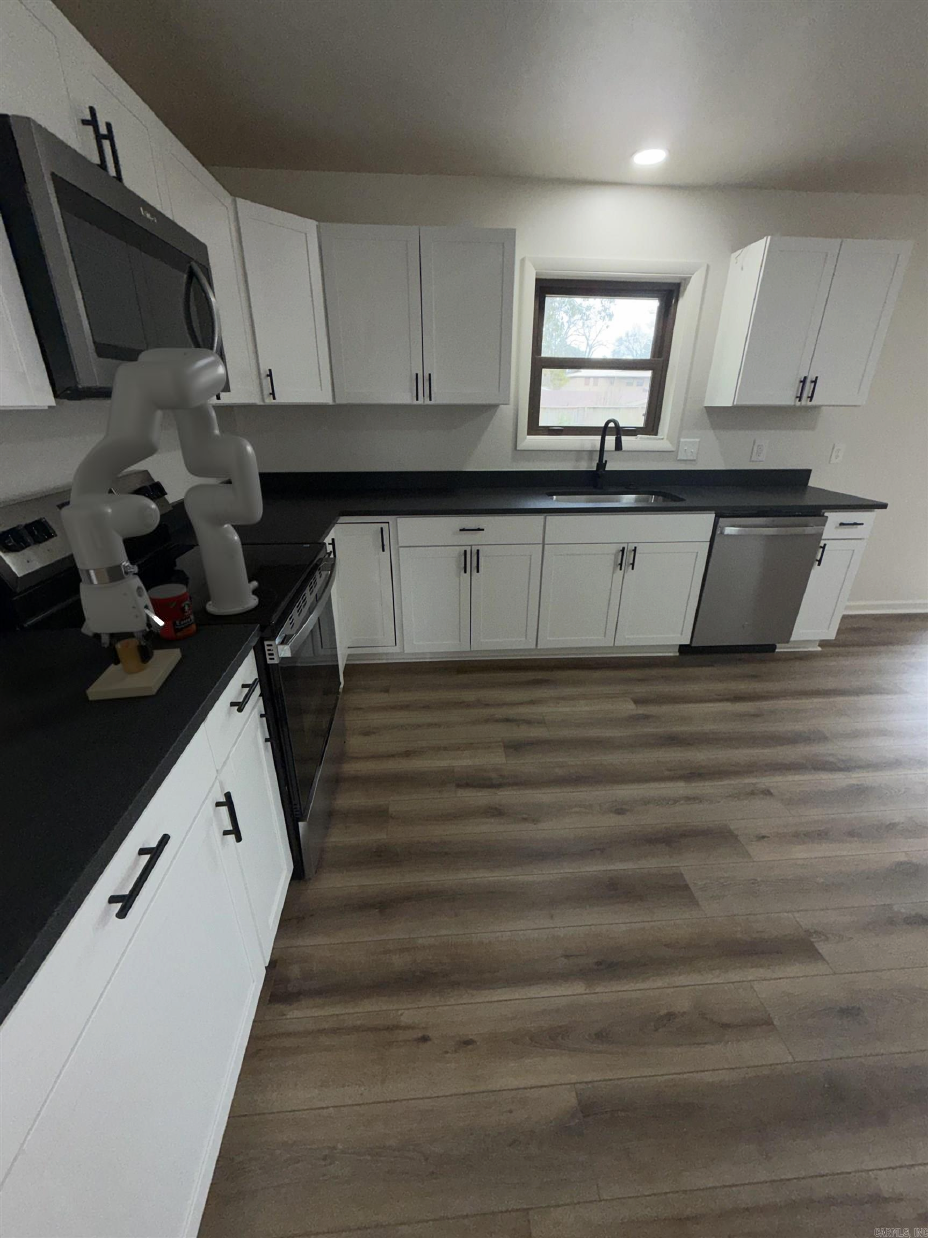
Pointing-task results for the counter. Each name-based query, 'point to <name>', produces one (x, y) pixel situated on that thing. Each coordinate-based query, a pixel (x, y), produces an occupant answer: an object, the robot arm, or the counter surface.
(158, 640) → the counter surface
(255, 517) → the robot arm
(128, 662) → the tap handle
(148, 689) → the plate
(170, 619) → the canned food
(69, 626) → the counter surface
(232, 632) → the counter surface
